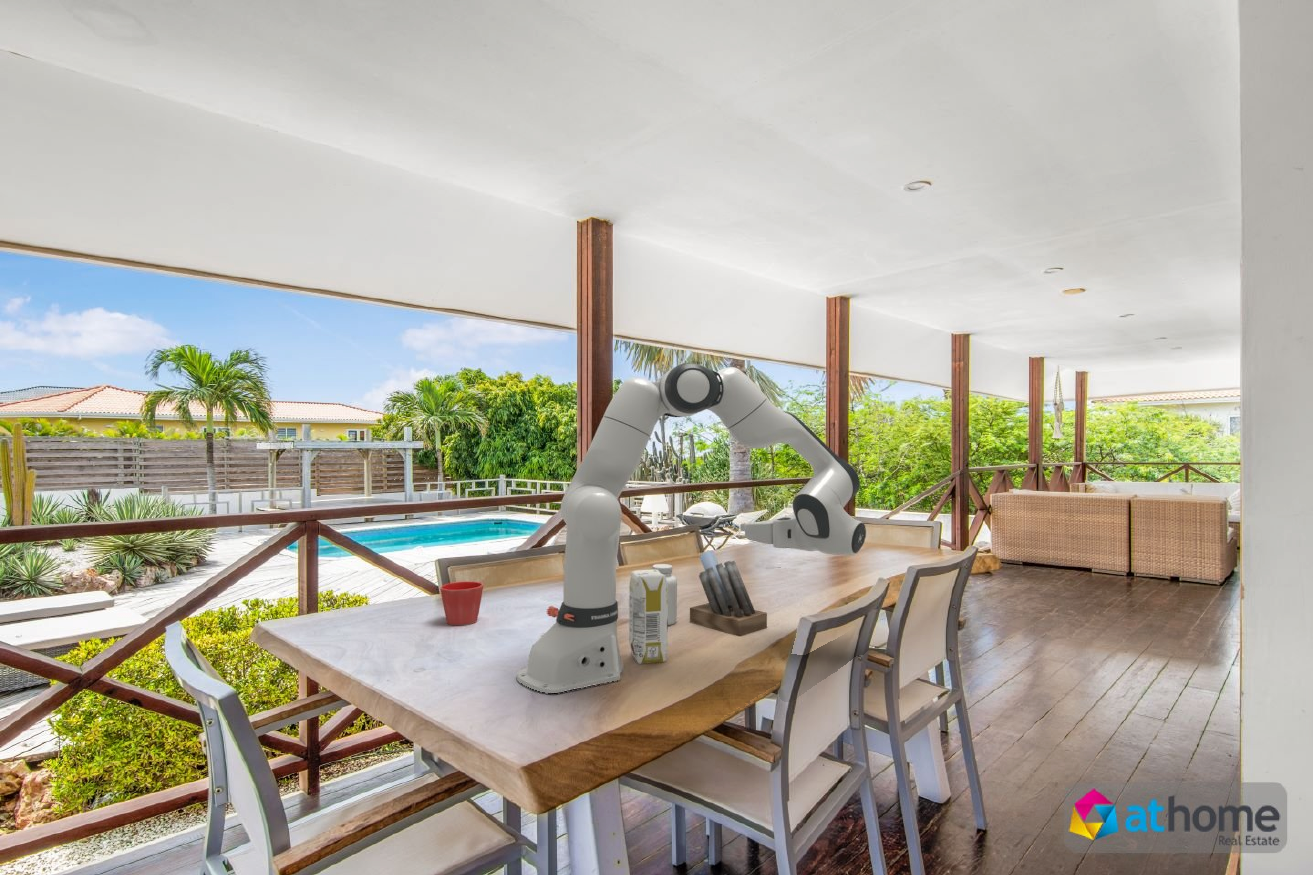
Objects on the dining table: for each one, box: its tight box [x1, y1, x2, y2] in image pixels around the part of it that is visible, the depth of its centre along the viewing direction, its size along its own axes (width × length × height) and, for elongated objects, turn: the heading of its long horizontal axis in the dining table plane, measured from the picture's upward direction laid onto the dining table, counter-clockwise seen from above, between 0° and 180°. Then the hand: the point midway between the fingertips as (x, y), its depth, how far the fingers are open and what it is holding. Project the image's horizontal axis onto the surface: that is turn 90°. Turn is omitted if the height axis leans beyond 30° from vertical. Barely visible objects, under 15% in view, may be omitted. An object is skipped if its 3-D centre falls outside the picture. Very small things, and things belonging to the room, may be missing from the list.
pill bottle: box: [651, 563, 678, 626], centre depth 177 cm, size 8×8×15 cm
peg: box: [698, 549, 731, 608], centre depth 178 cm, size 4×4×15 cm
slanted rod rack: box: [689, 560, 768, 637], centre depth 175 cm, size 17×11×18 cm, turn 43°
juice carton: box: [628, 569, 669, 665], centre depth 149 cm, size 8×9×19 cm
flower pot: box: [439, 581, 484, 626], centre depth 177 cm, size 11×11×10 cm
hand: (754, 525), depth 169 cm, fingers open, 8 cm apart
